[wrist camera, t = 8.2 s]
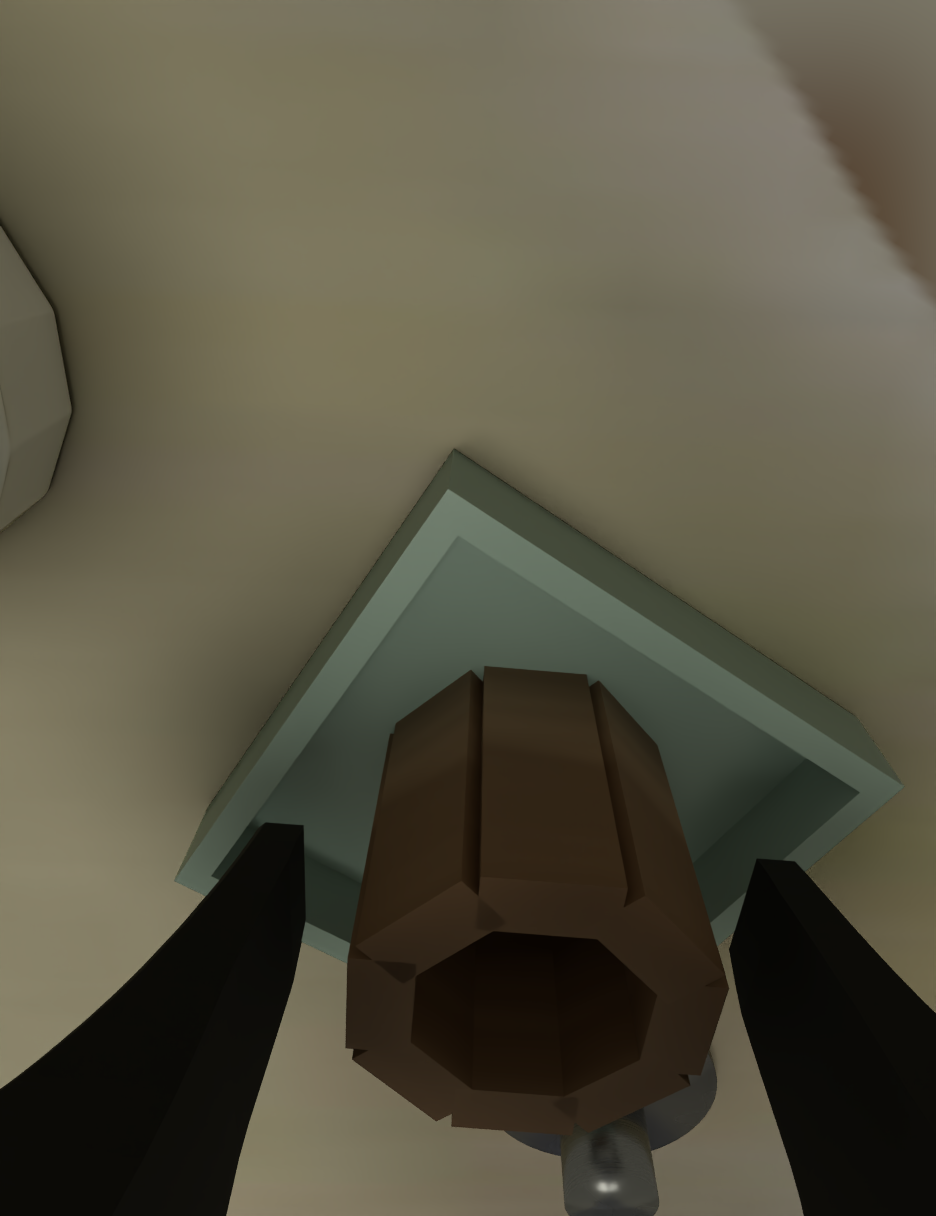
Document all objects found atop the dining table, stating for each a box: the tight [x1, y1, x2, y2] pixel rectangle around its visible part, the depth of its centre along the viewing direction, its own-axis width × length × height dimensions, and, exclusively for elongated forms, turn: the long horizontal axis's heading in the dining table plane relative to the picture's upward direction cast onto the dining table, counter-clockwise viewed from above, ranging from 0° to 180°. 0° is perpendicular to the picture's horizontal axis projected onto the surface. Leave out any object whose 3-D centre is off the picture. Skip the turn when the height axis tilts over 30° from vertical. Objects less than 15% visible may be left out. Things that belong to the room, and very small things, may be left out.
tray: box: [174, 449, 905, 963], centre depth 15 cm, size 9×9×2 cm
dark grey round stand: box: [505, 1050, 717, 1216], centre depth 19 cm, size 6×6×3 cm
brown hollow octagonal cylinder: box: [346, 666, 729, 1136], centre depth 14 cm, size 6×5×5 cm
